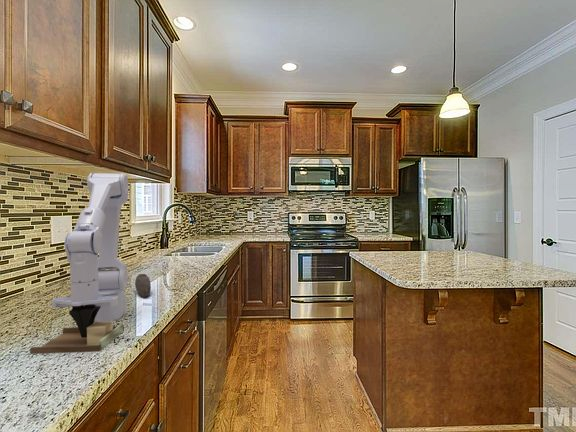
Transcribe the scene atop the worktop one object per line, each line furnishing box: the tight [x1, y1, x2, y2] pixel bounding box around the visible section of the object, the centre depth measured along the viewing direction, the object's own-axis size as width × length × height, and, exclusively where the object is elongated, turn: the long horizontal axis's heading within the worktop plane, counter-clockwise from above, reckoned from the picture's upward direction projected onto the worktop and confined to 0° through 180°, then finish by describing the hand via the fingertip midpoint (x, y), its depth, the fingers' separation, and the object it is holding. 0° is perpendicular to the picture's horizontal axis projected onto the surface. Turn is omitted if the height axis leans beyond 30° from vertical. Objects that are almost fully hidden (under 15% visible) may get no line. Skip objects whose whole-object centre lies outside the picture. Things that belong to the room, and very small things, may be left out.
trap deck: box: [29, 323, 125, 355], centre depth 78 cm, size 12×15×4 cm
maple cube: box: [87, 321, 114, 344], centre depth 78 cm, size 4×4×4 cm
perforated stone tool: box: [134, 273, 152, 298], centre depth 124 cm, size 15×5×7 cm, turn 28°
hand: (86, 336), depth 78 cm, fingers closed
